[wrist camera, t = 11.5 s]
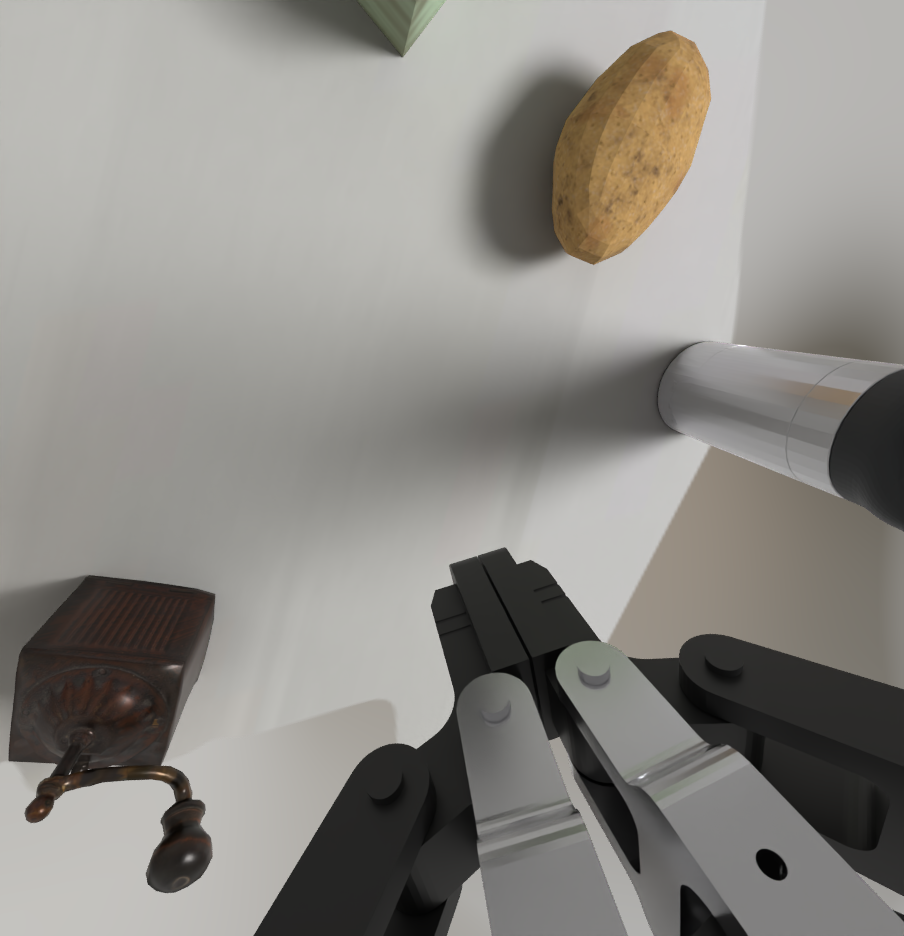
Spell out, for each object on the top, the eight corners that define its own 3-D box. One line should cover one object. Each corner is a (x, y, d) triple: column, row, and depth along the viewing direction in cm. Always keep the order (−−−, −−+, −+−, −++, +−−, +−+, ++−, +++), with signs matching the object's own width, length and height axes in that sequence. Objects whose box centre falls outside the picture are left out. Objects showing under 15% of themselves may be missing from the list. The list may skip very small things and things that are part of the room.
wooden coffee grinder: (73, 673, 41) (-109, 924, 25) (86, 571, 38) (-111, 780, 22) (252, 688, 46) (200, 906, 29) (276, 598, 43) (232, 786, 26)
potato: (499, 233, 36) (539, 216, 28) (587, 41, 32) (658, -33, 25) (592, 291, 39) (649, 290, 32) (681, 123, 36) (767, 78, 29)
